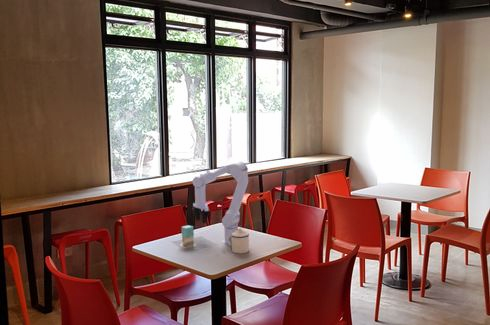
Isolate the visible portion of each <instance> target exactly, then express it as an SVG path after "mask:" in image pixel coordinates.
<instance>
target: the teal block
mask: <svg viewBox="0 0 490 325" xmlns="http://www.w3.org/2000/svg"><path fill="white" fill-rule="evenodd" d="M194 232H195V230H194V226H193V225H189V224H188V225H183V226H181V237H182V236H183V237H186V238H187V237H191V236H193V237H194V236H195V233H194Z"/></svg>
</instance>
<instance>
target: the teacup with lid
mask: <svg viewBox="0 0 490 325" xmlns="http://www.w3.org/2000/svg"><path fill="white" fill-rule="evenodd" d="M249 236H250V233H249V232H248V231H244V230H243V229H242V228H241V227H240V228H239V227H238V230H237V231H236V232H233V233H232V234H231V236H229V242H230V244H231V245H230V244H229V245H230V246H231V251H232V253H234V254H246V253H249V251H250V247H249V246H250V241H249V240H250V238H249ZM231 237H232V241H231Z"/></svg>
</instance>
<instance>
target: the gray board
mask: <svg viewBox="0 0 490 325" xmlns="http://www.w3.org/2000/svg"><path fill="white" fill-rule="evenodd" d="M193 239H194V245H193V246H188V247H185V246H184V245H182V239H178V240H174V241H171V243H172V244H174V245H176V246H177V247H179V248H181V249H182V250H184V251H186V252H189V251H196V250H199V249H204V248H209V247H214V246H215V247H216V246H218V244H216V243H215V242H213V241H211V240H209V239H207V238H205V237H204V236H196V237H193Z"/></svg>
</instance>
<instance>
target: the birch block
mask: <svg viewBox="0 0 490 325" xmlns="http://www.w3.org/2000/svg"><path fill="white" fill-rule="evenodd" d="M181 237H182V238H181V240H182V245H184V246H185V247H188V246H193V245H194V239H193V238H194V236H191V237H187V238H186V237H183V236H182V235H181Z"/></svg>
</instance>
